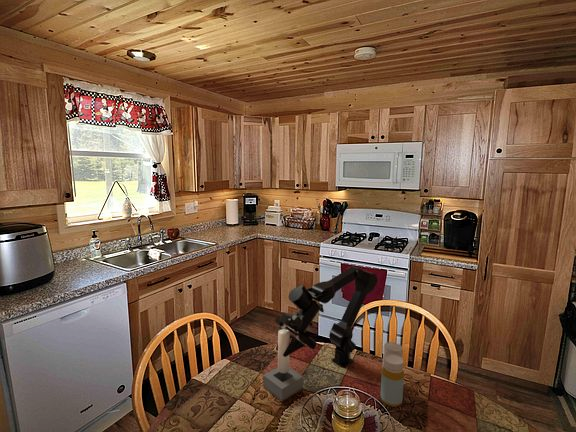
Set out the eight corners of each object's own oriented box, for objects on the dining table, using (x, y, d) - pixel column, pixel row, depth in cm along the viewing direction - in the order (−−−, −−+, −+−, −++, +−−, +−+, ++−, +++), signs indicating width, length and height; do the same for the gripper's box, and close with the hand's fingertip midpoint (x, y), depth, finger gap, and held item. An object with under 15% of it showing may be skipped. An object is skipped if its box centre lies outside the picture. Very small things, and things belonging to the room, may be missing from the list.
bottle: (403, 409, 103) (406, 366, 101) (381, 406, 105) (383, 363, 103) (400, 395, 110) (403, 354, 108) (379, 392, 111) (381, 352, 109)
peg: (287, 365, 114) (287, 328, 113) (290, 371, 111) (291, 334, 109) (276, 367, 113) (276, 330, 111) (279, 374, 109) (280, 335, 108)
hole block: (283, 375, 120) (284, 363, 119) (302, 388, 112) (303, 376, 112) (263, 386, 113) (263, 374, 112) (281, 401, 106) (282, 389, 105)
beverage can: (404, 388, 114) (407, 348, 112) (391, 394, 110) (394, 353, 109) (390, 377, 119) (392, 340, 117) (377, 383, 116) (379, 344, 114)
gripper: (279, 295, 119) (252, 331, 114) (310, 313, 104) (281, 355, 99) (295, 310, 124) (271, 345, 119) (327, 329, 109) (301, 370, 104)
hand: (280, 353), depth 110 cm, fingers closed on peg, 4 cm apart
